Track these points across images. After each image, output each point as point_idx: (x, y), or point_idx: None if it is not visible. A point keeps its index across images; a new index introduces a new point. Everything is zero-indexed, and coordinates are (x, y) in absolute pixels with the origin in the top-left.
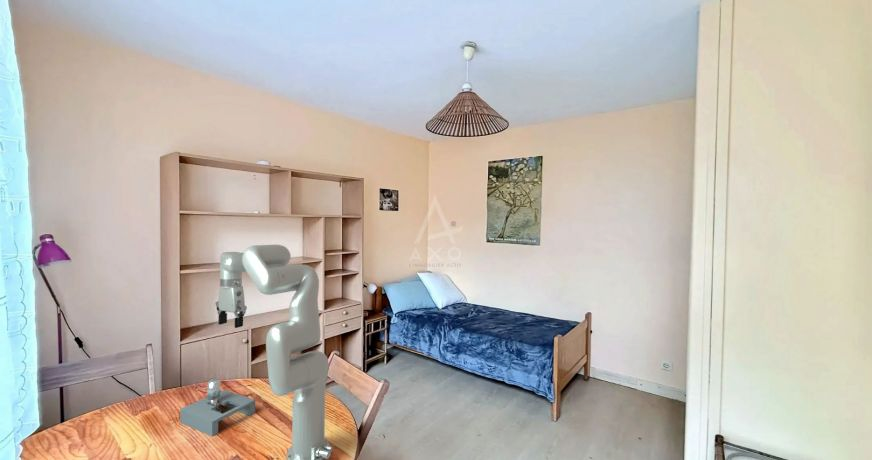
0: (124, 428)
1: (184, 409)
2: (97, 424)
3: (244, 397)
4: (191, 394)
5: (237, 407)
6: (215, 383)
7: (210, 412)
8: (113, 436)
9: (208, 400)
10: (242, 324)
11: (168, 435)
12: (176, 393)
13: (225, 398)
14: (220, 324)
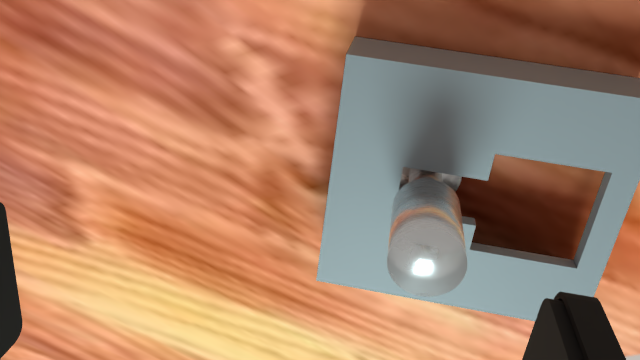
0: (159, 312)
1: (342, 280)
2: (41, 315)
3: (570, 97)
4: (91, 22)
5: (614, 201)
6: (462, 278)
7: (500, 273)
8: (183, 351)
9: (376, 186)
10: (603, 331)
11: (368, 311)
12: (10, 41)
13: (454, 141)
14: (15, 310)
